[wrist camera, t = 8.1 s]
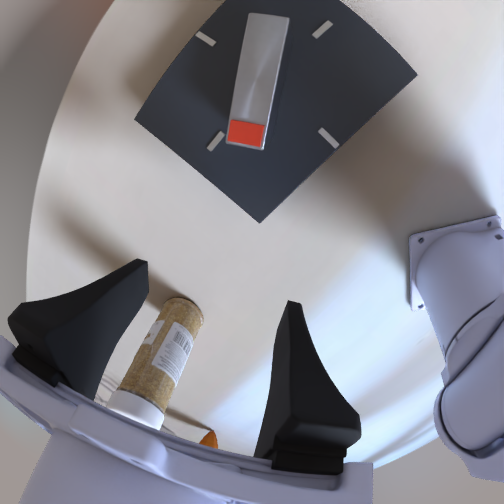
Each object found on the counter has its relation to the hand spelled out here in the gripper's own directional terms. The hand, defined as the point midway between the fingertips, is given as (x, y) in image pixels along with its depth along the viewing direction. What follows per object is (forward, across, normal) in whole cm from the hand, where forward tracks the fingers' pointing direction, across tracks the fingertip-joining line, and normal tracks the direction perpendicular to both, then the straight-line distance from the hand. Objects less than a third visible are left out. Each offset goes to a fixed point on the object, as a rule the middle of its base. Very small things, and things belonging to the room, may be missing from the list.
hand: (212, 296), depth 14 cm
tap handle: (+6, 0, -10) cm, 12 cm away
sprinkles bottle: (+10, +5, +12) cm, 16 cm away
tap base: (+9, 0, -10) cm, 14 cm away
